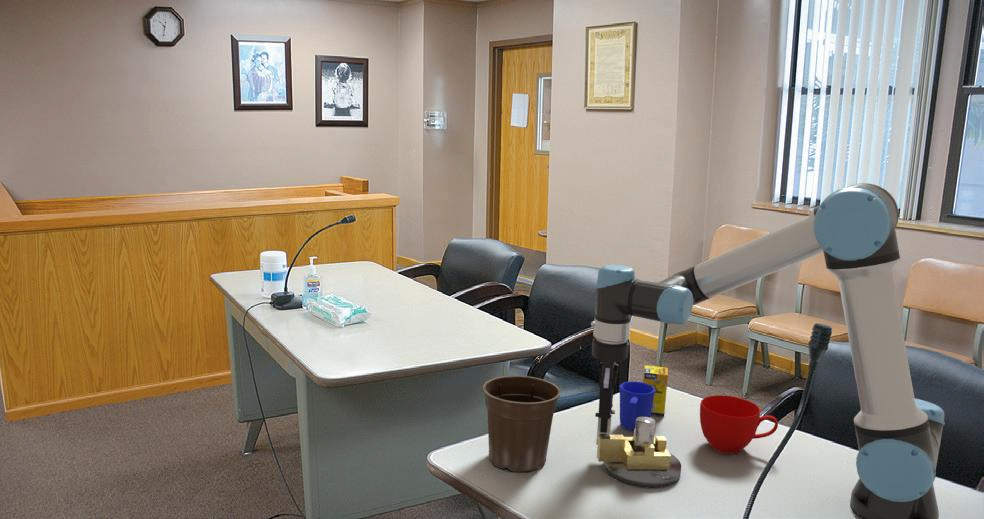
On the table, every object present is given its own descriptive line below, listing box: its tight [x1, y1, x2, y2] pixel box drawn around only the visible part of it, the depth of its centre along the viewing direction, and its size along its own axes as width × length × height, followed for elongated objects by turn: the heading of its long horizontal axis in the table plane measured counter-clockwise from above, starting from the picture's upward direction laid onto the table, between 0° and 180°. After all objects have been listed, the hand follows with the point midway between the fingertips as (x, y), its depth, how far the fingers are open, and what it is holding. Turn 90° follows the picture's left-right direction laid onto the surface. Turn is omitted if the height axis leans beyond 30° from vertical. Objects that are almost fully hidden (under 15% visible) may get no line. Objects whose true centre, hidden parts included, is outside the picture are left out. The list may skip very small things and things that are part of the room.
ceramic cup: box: [699, 394, 779, 455], centre depth 175 cm, size 13×17×10 cm
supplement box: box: [642, 365, 669, 417], centre depth 195 cm, size 6×6×11 cm
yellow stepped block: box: [596, 429, 671, 470], centre depth 163 cm, size 14×9×5 cm, turn 94°
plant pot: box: [482, 375, 562, 473], centre depth 165 cm, size 16×16×16 cm
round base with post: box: [602, 417, 682, 489], centre depth 163 cm, size 16×16×11 cm
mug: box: [619, 380, 655, 432], centre depth 183 cm, size 8×12×10 cm
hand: (602, 443), depth 168 cm, fingers closed
